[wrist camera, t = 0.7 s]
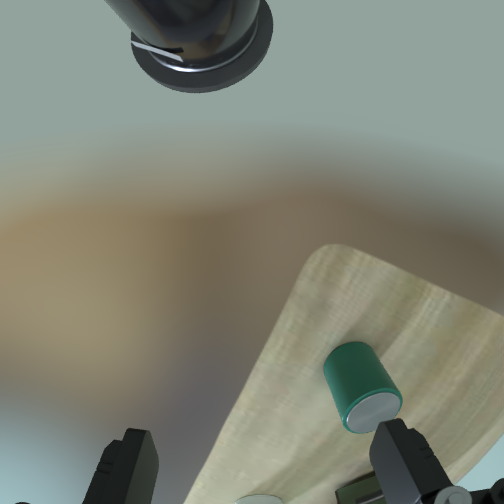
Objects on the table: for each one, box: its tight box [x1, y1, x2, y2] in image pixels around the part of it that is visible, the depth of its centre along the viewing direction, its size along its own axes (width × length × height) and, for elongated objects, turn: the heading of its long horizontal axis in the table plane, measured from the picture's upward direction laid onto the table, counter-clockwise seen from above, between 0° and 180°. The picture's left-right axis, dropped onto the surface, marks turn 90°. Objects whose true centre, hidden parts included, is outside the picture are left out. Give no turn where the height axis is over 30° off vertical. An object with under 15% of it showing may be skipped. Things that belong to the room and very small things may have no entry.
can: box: [324, 342, 402, 433], centre depth 24 cm, size 5×5×7 cm
